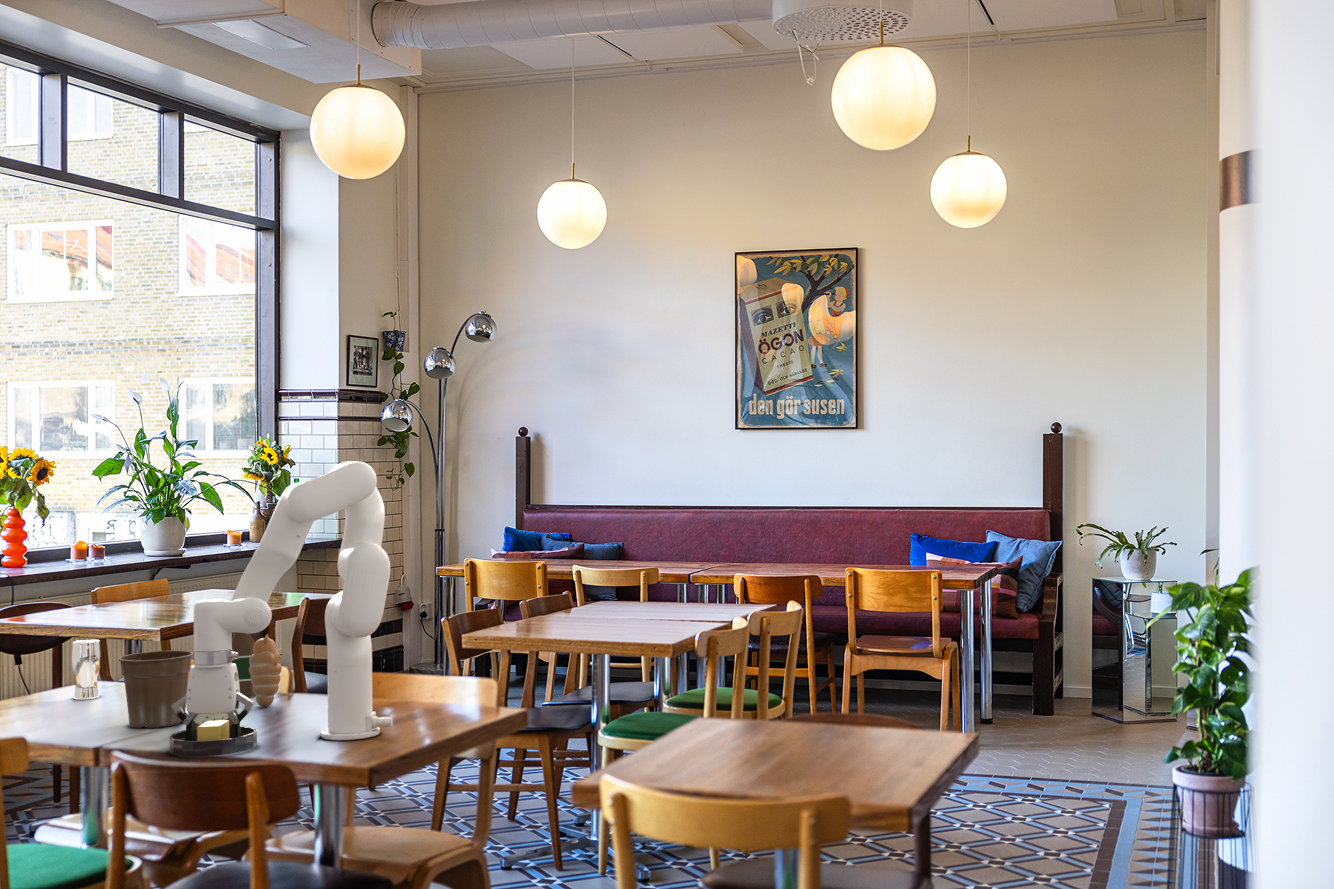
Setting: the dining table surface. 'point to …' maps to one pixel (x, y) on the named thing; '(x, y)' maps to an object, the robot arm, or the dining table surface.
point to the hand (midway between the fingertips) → (213, 742)
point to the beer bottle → (243, 661)
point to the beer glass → (86, 668)
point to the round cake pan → (212, 744)
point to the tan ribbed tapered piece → (265, 670)
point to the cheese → (213, 730)
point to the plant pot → (155, 686)
